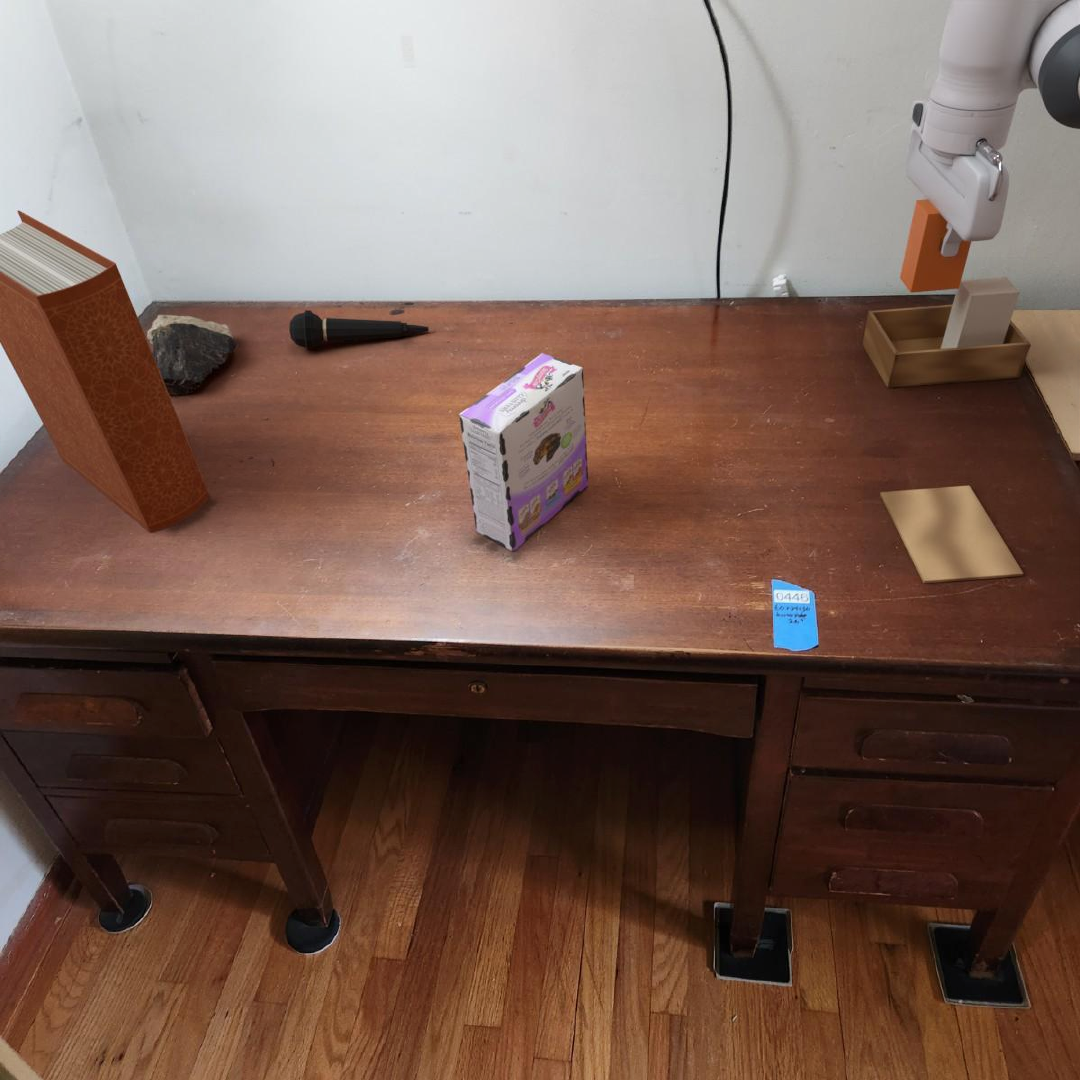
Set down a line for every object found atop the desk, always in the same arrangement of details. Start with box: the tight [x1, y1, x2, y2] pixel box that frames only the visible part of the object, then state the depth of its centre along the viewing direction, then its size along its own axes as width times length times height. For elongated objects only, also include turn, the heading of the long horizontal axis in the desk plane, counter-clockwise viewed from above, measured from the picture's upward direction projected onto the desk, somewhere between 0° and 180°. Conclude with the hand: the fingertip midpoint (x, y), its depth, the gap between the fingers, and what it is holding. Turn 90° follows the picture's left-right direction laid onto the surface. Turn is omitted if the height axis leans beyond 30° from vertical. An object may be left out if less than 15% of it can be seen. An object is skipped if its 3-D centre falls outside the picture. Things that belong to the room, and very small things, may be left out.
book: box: [0, 210, 211, 534], centre depth 103 cm, size 23×8×30 cm, turn 47°
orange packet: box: [899, 199, 972, 294], centre depth 110 cm, size 6×4×10 cm, turn 92°
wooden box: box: [861, 304, 1032, 389], centre depth 120 cm, size 17×11×5 cm, turn 92°
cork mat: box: [879, 485, 1024, 584], centre depth 97 cm, size 10×14×1 cm
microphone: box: [288, 309, 429, 351], centre depth 133 cm, size 6×6×20 cm
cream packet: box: [941, 276, 1020, 349], centre depth 118 cm, size 6×4×10 cm, turn 92°
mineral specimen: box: [146, 314, 238, 397], centre depth 129 cm, size 13×7×15 cm
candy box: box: [458, 352, 589, 552], centre depth 99 cm, size 14×6×16 cm, turn 141°
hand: (938, 243), depth 110 cm, fingers closed on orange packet, 4 cm apart
